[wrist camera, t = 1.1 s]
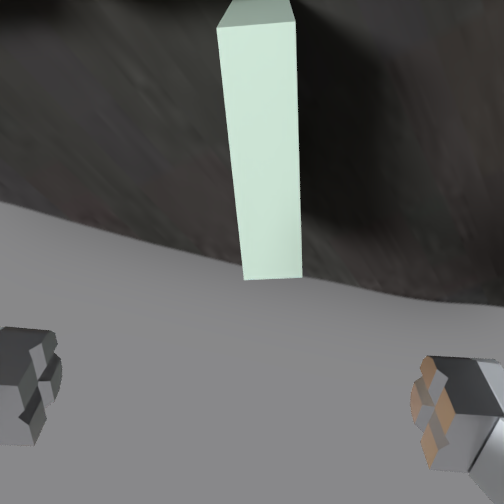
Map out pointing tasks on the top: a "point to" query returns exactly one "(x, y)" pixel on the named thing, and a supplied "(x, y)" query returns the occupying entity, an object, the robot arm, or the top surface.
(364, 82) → the top surface
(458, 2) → the top surface
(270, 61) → the sage plate
